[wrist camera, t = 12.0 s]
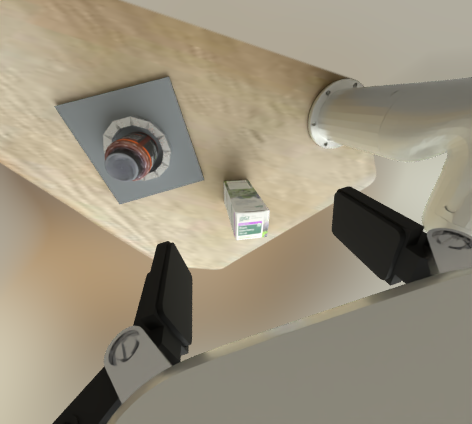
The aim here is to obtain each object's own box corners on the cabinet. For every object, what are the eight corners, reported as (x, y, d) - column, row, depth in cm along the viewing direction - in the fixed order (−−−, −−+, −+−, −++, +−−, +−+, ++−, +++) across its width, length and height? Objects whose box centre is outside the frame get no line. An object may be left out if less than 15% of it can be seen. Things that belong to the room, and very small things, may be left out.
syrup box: (223, 203, 44) (235, 243, 31) (222, 179, 41) (235, 213, 28) (247, 201, 45) (267, 239, 32) (248, 178, 42) (270, 209, 29)
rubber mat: (169, 77, 30) (168, 76, 29) (203, 178, 40) (204, 179, 39) (57, 106, 29) (54, 106, 28) (121, 202, 39) (119, 204, 38)
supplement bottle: (115, 139, 32) (82, 155, 23) (146, 125, 32) (126, 135, 22) (137, 169, 35) (116, 195, 26) (165, 157, 35) (155, 178, 26)
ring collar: (156, 109, 31) (153, 110, 29) (179, 167, 37) (178, 171, 35) (94, 126, 30) (88, 127, 29) (128, 182, 36) (124, 186, 34)
